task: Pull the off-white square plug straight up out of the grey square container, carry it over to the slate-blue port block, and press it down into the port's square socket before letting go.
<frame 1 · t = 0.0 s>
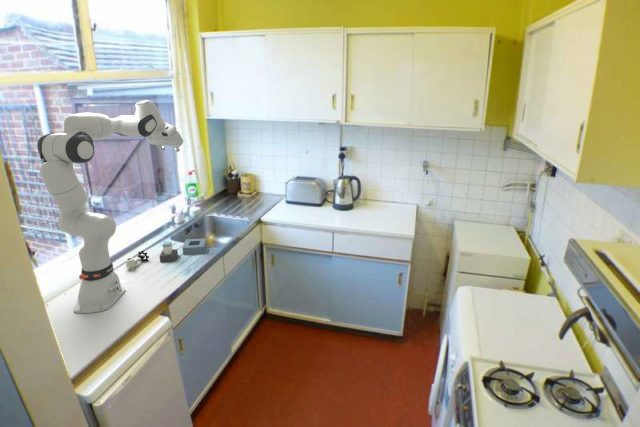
hand: (170, 150, 205), 54 cm above the counter, tool tilted 30°, fingers open, 8 cm apart
port: (195, 251, 215), on the counter
grey square container: (169, 260, 205), on the counter
plug: (169, 258, 205), point 1 cm above the counter, touching grey square container
valve: (137, 267, 199), on the counter
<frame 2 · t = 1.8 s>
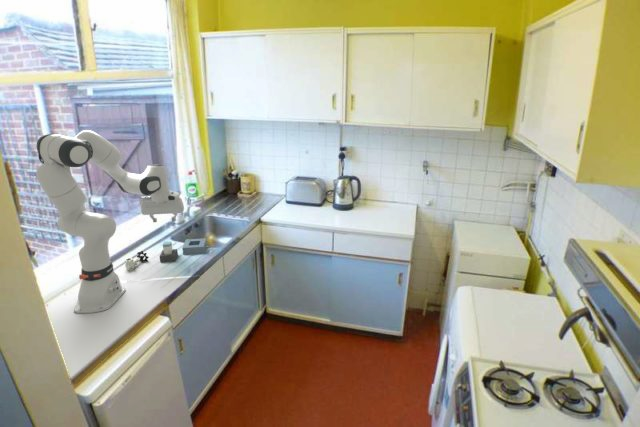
hand: (164, 221, 198), 22 cm above the counter, tool pointing down, fingers open, 8 cm apart
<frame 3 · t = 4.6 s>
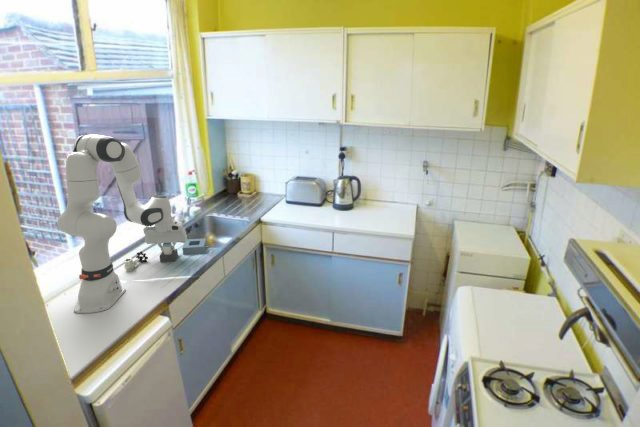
hand: (168, 249, 203), 6 cm above the counter, tool pointing down, fingers closed on plug, 4 cm apart
plug: (169, 258, 205), point 1 cm above the counter, touching gripper, grey square container
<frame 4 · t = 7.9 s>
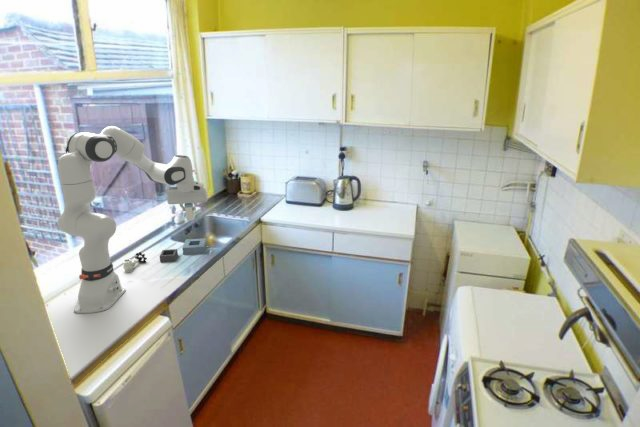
hand: (189, 210, 207), 24 cm above the counter, tool pointing down, fingers closed on plug, 4 cm apart
plug: (190, 219, 208), point 19 cm above the counter, touching gripper
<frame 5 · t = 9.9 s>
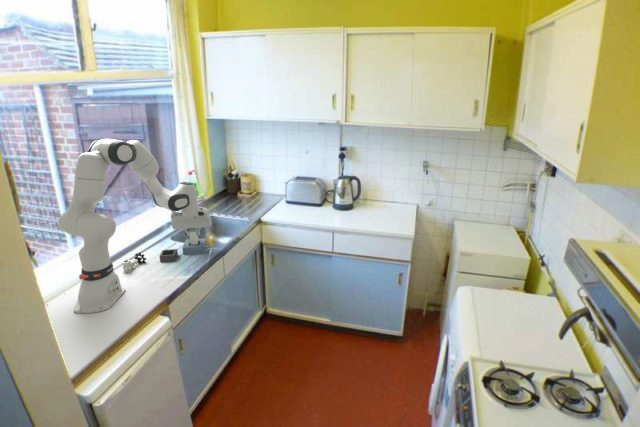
hand: (193, 235, 212), 10 cm above the counter, tool pointing down, fingers closed on plug, 4 cm apart
plug: (194, 243, 214), point 5 cm above the counter, touching gripper
when the fingers open (7 cm above the counter, at t = 11.5 s): plug stays where it is, resting on port.
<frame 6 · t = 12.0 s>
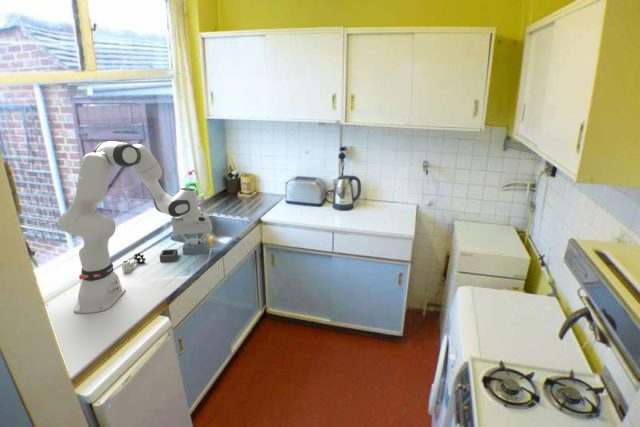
hand: (194, 240, 213), 7 cm above the counter, tool pointing down, fingers open, 8 cm apart
plug: (195, 249, 215), point 1 cm above the counter, touching port
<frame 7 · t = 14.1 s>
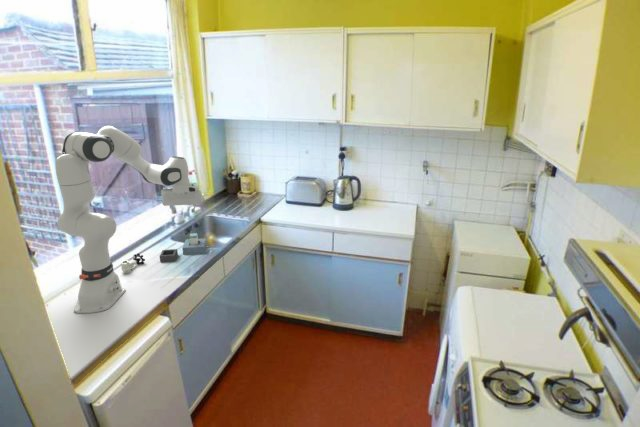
hand: (184, 212, 205), 24 cm above the counter, tool pointing down, fingers open, 8 cm apart
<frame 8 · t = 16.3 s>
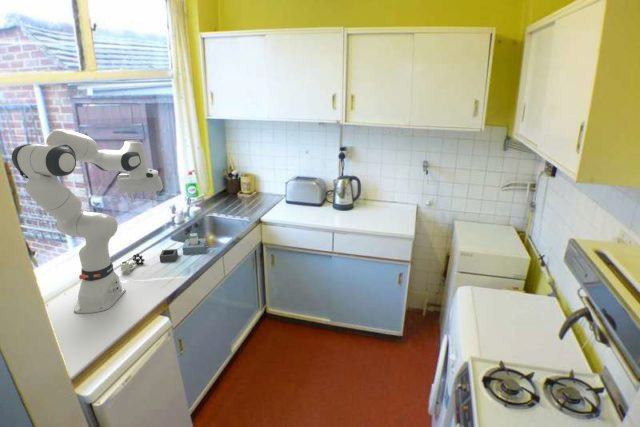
hand: (143, 200, 195), 33 cm above the counter, tool pointing down, fingers open, 8 cm apart
at the end: plug 0.0 cm off-centre on the port, point 1.0 cm above the port's base; plug tilted 0°; the gripper is holding nothing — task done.
